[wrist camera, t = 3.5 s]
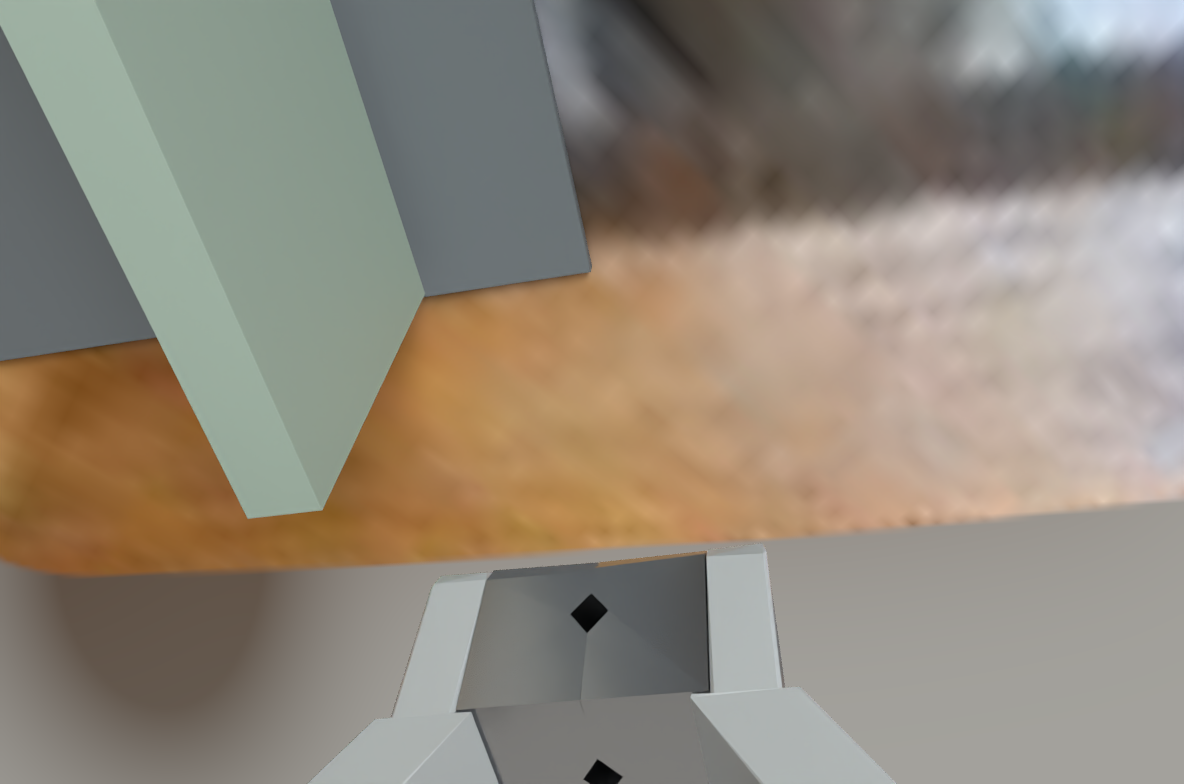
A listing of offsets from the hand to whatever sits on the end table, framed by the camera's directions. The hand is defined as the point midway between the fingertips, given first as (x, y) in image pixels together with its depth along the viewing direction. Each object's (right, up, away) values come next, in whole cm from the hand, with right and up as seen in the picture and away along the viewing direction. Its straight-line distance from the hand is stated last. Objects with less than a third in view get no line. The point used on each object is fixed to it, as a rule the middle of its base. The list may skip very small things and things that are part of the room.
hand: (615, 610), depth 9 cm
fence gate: (-5, +8, +9) cm, 13 cm away
